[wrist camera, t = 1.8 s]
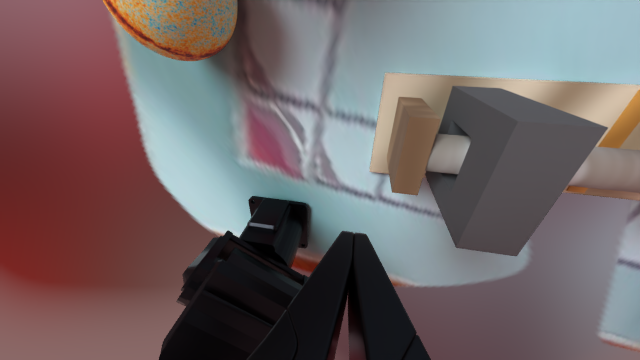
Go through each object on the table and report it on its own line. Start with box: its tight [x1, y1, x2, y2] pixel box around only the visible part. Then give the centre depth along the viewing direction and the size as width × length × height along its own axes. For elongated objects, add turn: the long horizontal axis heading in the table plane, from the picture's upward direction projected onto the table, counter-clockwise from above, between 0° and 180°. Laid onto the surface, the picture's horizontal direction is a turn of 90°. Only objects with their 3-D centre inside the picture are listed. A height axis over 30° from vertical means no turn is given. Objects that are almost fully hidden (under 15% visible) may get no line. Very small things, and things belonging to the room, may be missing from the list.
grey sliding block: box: [425, 86, 608, 256], centre depth 14 cm, size 3×7×8 cm, turn 178°
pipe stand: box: [370, 72, 640, 200], centre depth 15 cm, size 22×8×6 cm, turn 88°
